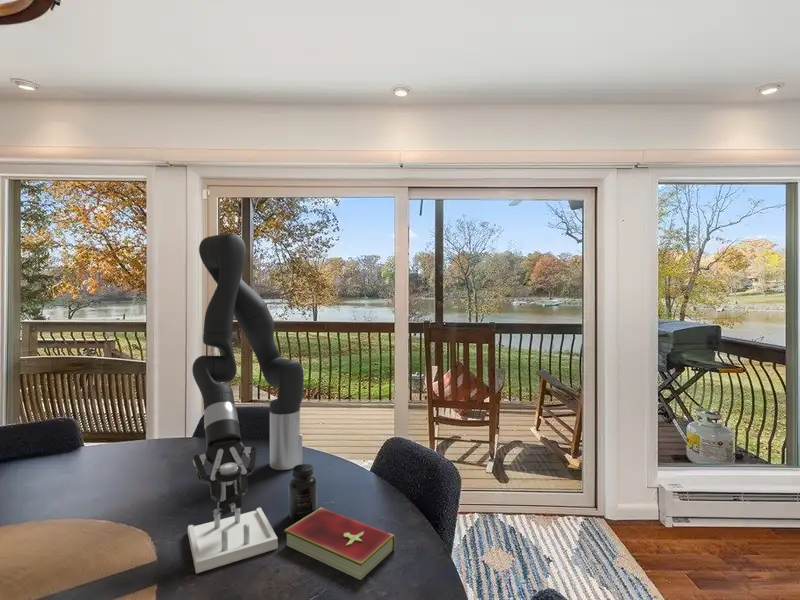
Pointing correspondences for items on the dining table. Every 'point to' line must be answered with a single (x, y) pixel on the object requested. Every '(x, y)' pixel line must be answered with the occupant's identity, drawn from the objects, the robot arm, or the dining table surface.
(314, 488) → the supplement bottle
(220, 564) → the tray
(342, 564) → the hardcover book
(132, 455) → the dining table surface
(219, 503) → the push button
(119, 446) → the dining table surface
